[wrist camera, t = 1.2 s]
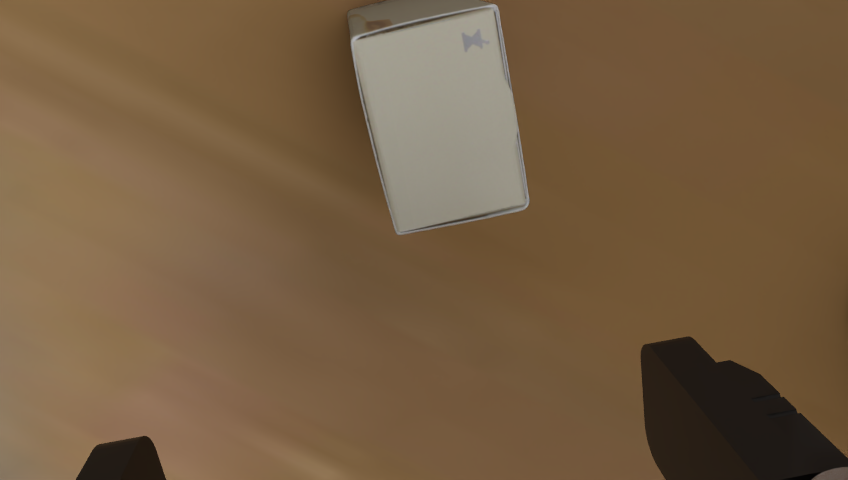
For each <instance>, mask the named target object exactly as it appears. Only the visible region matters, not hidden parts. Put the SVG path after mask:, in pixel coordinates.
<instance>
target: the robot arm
mask: <svg viewBox="0 0 848 480" xmlns="http://www.w3.org/2000/svg"><path fill="white" fill-rule="evenodd" d="M641 370H642V386H643V402H644V417H645V429H646V435H647V440H648V444H649V447H650V450H651V453H652V456H653V458H654V460H655V463H656V464H657V466H658V468H659V469H660V471H661V473H662V474H663V476H664V477H665V479H666V480H848V458H847V457H846V456H845V455H844V454H843V453H842V452H840V451H839V450H838V449H837V448H836V447H835V446H834V445H833V444H832V443H831V442H830V441H829V440H828V439H827V438H826V437H825V436H824V435H823V434H822V433H821V432H820V431H819V430H818V429H816V428H815V427H814V426H813V425H812V424H811V423H810V422H809V421H808V420H807V419H806V418H805V417H804V416H803V415H802V414H801V413H799V414H798V413H797V411H796V408H795V407H794V406H793V405H791V404H790V403H789V402H788V401H787V400H786V399H785V398H784V397H780V393H779V392H778V391H777V390H776V389H775V388H774V387H773V386H772V385H771V384H770V383H769V382H767V381H766V380H765V379H764V378H763V377H762V376H761V375H760V374H758V373H756V372H754V371H752V370H750V369H748V368H746V367H744V366H741V365H739V364H737V363H735V362H733V361H731V360H728V361H723V362H718V363H716V362H715V361H714V360H713V359H712V358H711V357H710V356H709V354H708V353H707V352H706V351H705V350H704V349H703V348H702V347H701V346H700V345H699V344H698V343H697V342H696V341H695V340H694V339H693V338H691V337H683V338H677V339H672V340H666V341H661V342H656V343H650V344H645V345H643V347H642V350H641ZM76 480H166V478H165V475H164V472H163V469H162V466H161V463H160V460H159V457H158V454H157V451H156V448H155V446H154V444H153V442H152V441H151V439H150V438H149V437H147V436H142V437H136V438H131V439H125V440H120V441H115V442H109V443H104V444H99V445H97V446H96V447H95V448H94V449H93V450H92V452H91V454H90V456H89V457H88V459H87V461H86V463H85V464H84V466H83V468H82V470H81V471H80V473H79V475H78V477H77V478H76Z"/></svg>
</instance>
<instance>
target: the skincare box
mask: <svg viewBox="0 0 848 480" xmlns="http://www.w3.org/2000/svg"><path fill="white" fill-rule="evenodd" d="M347 17H348V24H349V30H350V38H351V51H352V57H353V62H354V68H355V74H356V79H357V84H358V89H359V94H360V99H361V103H362V107H363V112H364V116H365V120H366V124H367V129H368V133H369V137H370V141H371V145H372V149H373V153H374V157H375V161H376V164H377V168H378V172H379V176H380V179H381V183H382V187H383V190H384V194H385V198H386V201H387V205H388V208H389V212H390V215H391V219H392V222H393V226H394V229H395V232H396V234H398V235H405V234H409V233H414V232H418V231H425V230H431V229H436V228H441V227H447V226H452V225H457V224H463V223H466V222H472V221H476V220H482V219H487V218H492V217H496V216H500V215H505V214H509V213H514V212H518V211H522V210H524V209H526V208H527V207H528V204H529V200H530V199H529V194H528V187H527V180H526V173H525V167H524V161H523V154H522V148H521V142H520V136H519V128H518V122H517V116H516V110H515V104H514V98H513V93H512V87H511V81H510V75H509V69H508V63H507V57H506V51H505V45H504V39H503V34H502V29H501V22H500V15H499V10H498V7H497V5H495V4H492V3H488V2H484V1H480V0H387V1H383V2H378V3H374V4H370V5H366V6H362V7H359V8H355V9H351V10H349V11H348V13H347Z"/></svg>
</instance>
